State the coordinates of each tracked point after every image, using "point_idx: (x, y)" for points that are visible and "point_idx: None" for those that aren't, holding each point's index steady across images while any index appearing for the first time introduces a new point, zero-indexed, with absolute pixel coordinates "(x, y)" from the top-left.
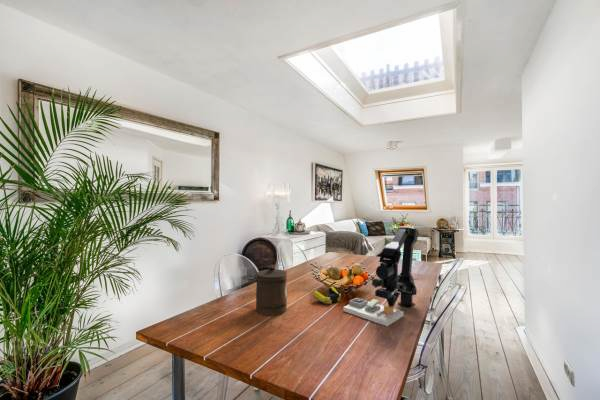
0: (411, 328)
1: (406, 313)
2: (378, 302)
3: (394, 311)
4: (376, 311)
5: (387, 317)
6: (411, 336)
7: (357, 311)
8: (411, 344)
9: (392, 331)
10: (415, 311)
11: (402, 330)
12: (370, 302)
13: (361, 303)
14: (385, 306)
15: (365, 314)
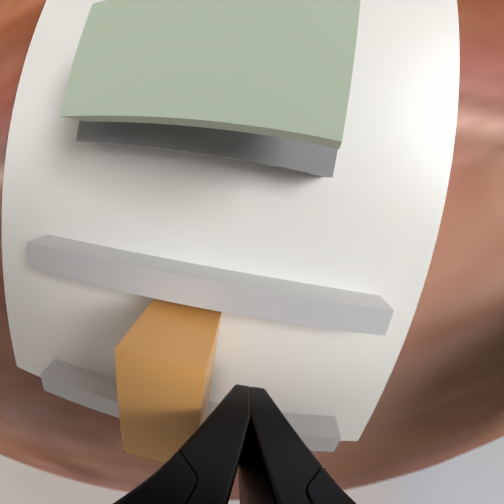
0: (143, 477)
1: (422, 404)
2: (317, 142)
3: (320, 379)
4: (160, 171)
5: (47, 369)
6: (56, 467)
7: (47, 3)
8: (5, 454)
9: (14, 386)
10: (476, 424)
11: (72, 437)
12: (172, 10)
13: None
14: (118, 372)
15: (14, 108)
